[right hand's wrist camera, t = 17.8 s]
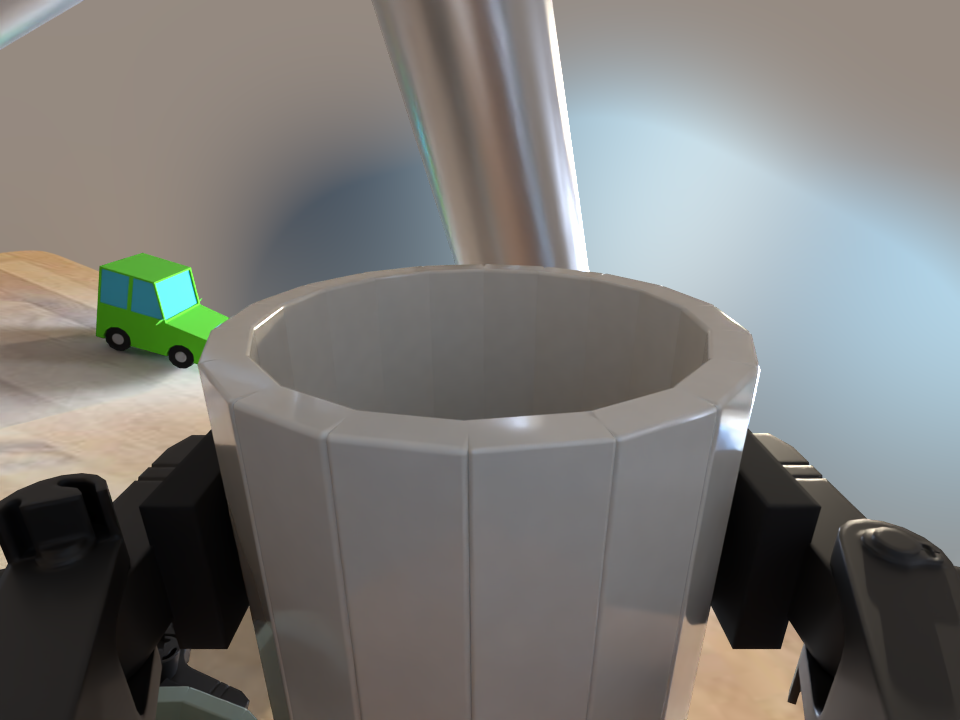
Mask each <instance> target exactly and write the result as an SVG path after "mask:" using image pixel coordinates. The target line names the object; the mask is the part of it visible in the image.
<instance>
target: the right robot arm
mask: <svg viewBox="0 0 960 720" xmlns="http://www.w3.org/2000/svg"><path fill="white" fill-rule="evenodd" d="M0 545H1V548H2V550H3V553H4V555H5V557H6V560H7V562H8V565H7V567H6V569H1V570H0V720H155V718H156V710H157V702H158V694H159V686H160V678H161V670H162V666H161V659H160V655H159V651H158V648H157V644H158V642H159V641H160V639H161V638H162V636H163V635H164V633H165V632H166V630H167V629H168V627H169V625H170V624H171V622H172V625H173V628H174V632H175V635H176V639H177V642H178V646H179V649H228V647H229V645H230V643H231V641H232V639H233V637H234V635H235V633H236V631H237V629H238V627H239V625H240V623H241V621H242V619H243V617H244V615H245V613H246V611H247V609H248V607H249V602H248V597H247V592H246V588H245V583H244V578H243V574H242V569H241V564H240V560H239V555H238V550H237V546H236V541H235V536H234V532H233V527H232V522H231V518H230V513H229V508H228V504H227V499H226V494H225V490H224V485H223V480H222V476H221V471H220V466H219V462H218V457H217V452H216V448H215V443H214V438H213V434H212V429H211V430H210V431H209V432H208V433H207V434H206V435H191V436H189V437H188V438H186V439H184V440H182V441H180V442H179V443H177V444H175V445H173V446H172V447H170V448H168V449H167V450H166V451H165V452H164V453H163V454H162V455H161V456H160V457H159V458H158V459H157V460H156V461H155V462H154V463H153V464H152V467H148V468H147V469H146V470H145V471H144V472H143V473H142V474H141V475H140V476H139V477H138V481H134V482H133V483H132V484H131V485H130V486H129V487H128V488H127V489H126V490H125V491H124V492H123V493H122V494H121V495H120V496H119V497H118V498H117V499H116V500H115V501H114V502H112V499H111V496H110V492H109V489H108V486H107V483H106V480H104V479H103V478H101V477H99V476H98V475H93V474H84V473H79V474H70V475H61V476H58V477H54V478H50V479H46V480H42V481H39V482H37V483H34V484H32V485H29V486H27V487H25V488H22V489H20V490H17V491H16V492H14V493H13V494H11V495H9V496H8V497H6V498H4V499H3V500H1V501H0ZM711 606H712V608H713V610H714V612H715V614H716V616H717V618H718V620H719V622H720V624H721V626H722V628H723V630H724V632H725V634H726V636H727V638H728V640H729V642H730V644H731V646H732V648H733V649H781V646H782V643H783V639H784V636H785V632H786V629H787V625H788V622H789V621H790V622H791V624H792V625H793V627H794V629H795V630H796V632H797V633H798V635H799V636H800V638H801V639H802V641H803V642H804V645H803V648H802V651H801V655H800V658H799V661H798V664H797V667H796V671H795V674H794V677H793V680H792V684H791V687H790V690H789V696H788V702H789V703H792V704H795V705H796V702H797V699H798V696H799V693H800V692H802V700H803V708H804V716H805V720H960V567H957V566H953V564H952V562H951V561H950V560H949V559H948V557H947V556H946V555H945V554H944V552H943V551H942V550H941V549H939V548H938V547H937V546H935V545H934V544H932V543H931V542H930V541H928V540H927V539H925V538H924V537H922V536H920V535H918V534H916V533H914V532H912V531H909V530H907V529H905V528H903V527H900V526H897V525H893V524H890V523H887V522H883V521H877V520H869V519H867V518H866V517H865V516H864V515H863V514H862V513H861V512H860V511H859V510H857V509H856V508H855V507H854V506H853V505H852V504H851V503H850V502H849V501H848V500H847V499H846V498H845V497H844V496H843V495H842V494H841V493H840V492H839V491H838V490H837V489H836V488H835V487H834V486H833V485H832V484H831V483H830V482H829V481H828V480H827V479H823V478H822V475H821V474H820V473H819V472H818V471H817V470H816V469H815V468H814V467H813V466H812V465H809V462H808V461H807V460H806V459H805V458H804V457H803V456H802V455H801V454H800V453H799V452H798V451H797V450H796V449H795V448H794V447H792V446H791V445H789V444H787V443H785V442H783V441H782V440H780V439H778V438H776V437H774V436H773V435H771V434H769V433H752V432H751V431H750V430H749V429H747V434H746V439H745V444H744V448H743V453H742V458H741V463H740V468H739V472H738V477H737V482H736V487H735V492H734V496H733V501H732V506H731V511H730V516H729V520H728V525H727V530H726V535H725V540H724V544H723V549H722V554H721V559H720V564H719V568H718V573H717V578H716V583H715V588H714V592H713V597H712V602H711Z"/></svg>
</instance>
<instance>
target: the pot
mask: <svg viewBox="0 0 960 720" xmlns="http://www.w3.org/2000/svg"><path fill="white" fill-rule="evenodd" d="M155 720H257V719H256V718H255V717H254V716H253V715H252V713H251V712H250V711H249V710H247V709H246V708H243V707H240V706H238V705H235V704H233V703H230V702H228V701H225V700H222V699H220V698H217V697H215V696H212V695H210V694H207V693H204V692H202V691H199V690H197V689H194V688H192V687H190V688H189V687H188V686H182V687H159V694H158V702H157V710H156V718H155Z"/></svg>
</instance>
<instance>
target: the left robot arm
mask: <svg viewBox="0 0 960 720" xmlns="http://www.w3.org/2000/svg"><path fill="white" fill-rule="evenodd" d="M81 1H83V0H0V49H2V48H4V47H6V46H7V45H9V44H11V43H12V42H14V41H16V40H17V39H19V38H21V37H22V36H24V35H26V34H28V33H29V32H31V31H33V30H34V29H36V28H38V27H39V26H41V25H43V24H44V23H46V22H48V21H49V20H51V19H53V18H55V17H56V16H58V15H60V14H61V13H63V12H65V11H66V10H68V9H70V8H71V7H73V6H75V5H76V4H78V3H80V2H81ZM372 3H373V6H374V10H375V13H376V16H377V19H378V22H379V25H380V28H381V32H382V35H383V38H384V41H385V44H386V47H387V50H388V54H389V57H390V60H391V63H392V66H393V69H394V73H395V76H396V79H397V82H398V85H399V88H400V91H401V95H402V98H403V101H404V104H405V107H406V110H407V113H408V117H409V120H410V123H411V126H412V129H413V132H414V136H415V139H416V142H417V145H418V148H419V151H420V154H421V158H422V161H423V164H424V167H425V170H426V173H427V177H428V180H429V183H430V186H431V189H432V192H433V196H434V199H435V202H436V205H437V208H438V211H439V214H440V218H441V221H442V224H443V227H444V230H445V233H446V236H447V240H448V243H449V246H450V249H451V252H452V255H453V259H454V262H455V265H468V264H483V265H486V264H495V265H521V266H542V267H544V268H545V267H553V268H562V269H570V270H579V271H587V272H588V265H587V257H586V250H585V243H584V235H583V228H582V220H581V213H580V205H579V198H578V190H577V183H576V175H575V168H574V161H573V153H572V146H571V138H570V131H569V124H568V116H567V109H566V101H565V94H564V86H563V79H562V71H561V64H560V57H559V49H558V42H557V34H556V27H555V19H554V12H553V4H552V0H372ZM157 648H158V651H159V655H160V659H161V666H162V670H161V678H160V686H159V687H182V686H188V687H189V688H190V687H192V688H194V689H197V690H199V691H202V692H204V693H207V694H210V695H212V696H215V697H217V698H220V699H222V700H225V701H228V702H230V703H233V704H235V705H238V706H240V707H243V708H246V709H248V705H249V700H248V699H247V697H246V696H245V695H244V694H243V693H242V691H240V690H238V689H235V688H233V687H231V686H228V685H227V684H225V683H223V682H219V681H218V680H216V679H214V678H212V677H210V676H208V675H206V674H203V673H201V672H199V671H197V670H195V669H193V668H191V667H189V666H188V665H187V663H188V661H189V656H190V651H191V649H179V646H178V642H177V639H176V635H175V632H174V628H173V625H172V622H171V624H170V625H169V627H168V629H167V630H166V632H165V633H164V635H163V636H162V638H161V639H160V641H159V642H158V644H157Z"/></svg>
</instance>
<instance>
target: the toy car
mask: <svg viewBox="0 0 960 720" xmlns="http://www.w3.org/2000/svg"><path fill="white" fill-rule="evenodd" d="M200 301H201V299H200V300H199V299H198V295H197V291H196V287H195V283H194V279H193V275H192V271H191V268H190V267H187V266H184V265H181V264H177V263H174V262H171V261H167V260H164V259H161V258H158V257H154V256H151V255H147V254H144V253H141V254H138V255H134V256H131V257H128V258H124V259H121V260H118V261H115V262H111V263H108V264H105V265H102V266H100V268H99V287H98V305H97V324H96V336H97V337H101V338H106V342H107V343H108V344H109V345H110V347H112V348H114V349H116V350H120V351H124V350H126V349H128V348H129V347H131V346H132V347H136V348H140V349H143V350H147V351H150V352H154V353H157V354H161V355H164V356H168V355H169V360H170V361H171V362H172V364H173V365H175V366H177V367H179V368H188V367H189V366H191V365H193V364H194V363H195V364H198V362H199V359H200V357H201V354H202V352H203V349H204V347H205V344H206V342H207V339H208V337H209V334H210V332H211V330H213V329H214V328H216V327H217V326H219V325H220V324H222V323H223V322H225V321H226V320H228V319H229V318H228V317H226V316H224V315H222V314H220V313H217V312H215V311H213V310H211V309H209V308H207V307H205V306H202V305H200V303H199V302H200Z"/></svg>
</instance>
